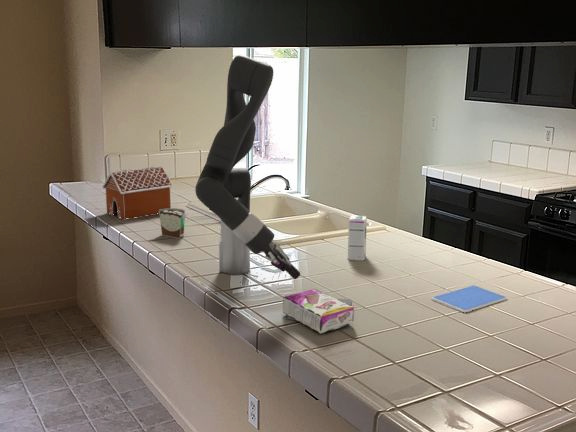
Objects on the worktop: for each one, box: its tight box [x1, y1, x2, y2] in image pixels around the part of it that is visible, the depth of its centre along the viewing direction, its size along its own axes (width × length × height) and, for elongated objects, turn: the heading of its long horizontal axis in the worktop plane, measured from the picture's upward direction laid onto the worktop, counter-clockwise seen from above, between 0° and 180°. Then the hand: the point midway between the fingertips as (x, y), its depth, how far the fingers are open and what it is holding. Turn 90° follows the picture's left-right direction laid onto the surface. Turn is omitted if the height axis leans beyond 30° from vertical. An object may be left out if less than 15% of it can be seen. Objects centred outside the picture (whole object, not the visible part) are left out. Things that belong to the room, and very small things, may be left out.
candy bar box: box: [282, 288, 355, 334], centre depth 163 cm, size 11×5×16 cm
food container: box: [157, 207, 188, 240], centre depth 240 cm, size 12×6×10 cm, turn 58°
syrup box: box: [347, 214, 367, 262], centre depth 215 cm, size 6×6×14 cm
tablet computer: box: [431, 285, 508, 314], centre depth 180 cm, size 19×13×1 cm, turn 126°
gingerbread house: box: [101, 165, 174, 220], centre depth 274 cm, size 18×26×20 cm
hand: (297, 276), depth 171 cm, fingers closed
